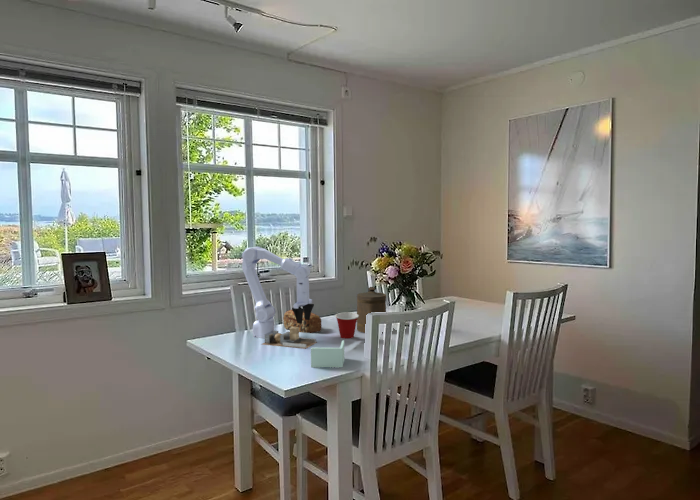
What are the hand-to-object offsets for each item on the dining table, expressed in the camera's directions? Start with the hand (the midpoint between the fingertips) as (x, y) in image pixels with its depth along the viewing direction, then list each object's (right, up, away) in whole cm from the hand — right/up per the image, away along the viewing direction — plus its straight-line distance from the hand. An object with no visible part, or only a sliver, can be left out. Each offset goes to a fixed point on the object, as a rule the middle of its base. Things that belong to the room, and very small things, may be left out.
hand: (303, 321), depth 228 cm
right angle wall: (+13, -12, -33) cm, 37 cm away
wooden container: (+32, -8, +22) cm, 40 cm away
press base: (-6, -10, -8) cm, 14 cm away
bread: (-3, -8, +24) cm, 25 cm away
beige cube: (-4, -9, -8) cm, 13 cm away
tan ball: (-10, -8, -6) cm, 15 cm away
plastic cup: (+20, -9, +3) cm, 22 cm away
